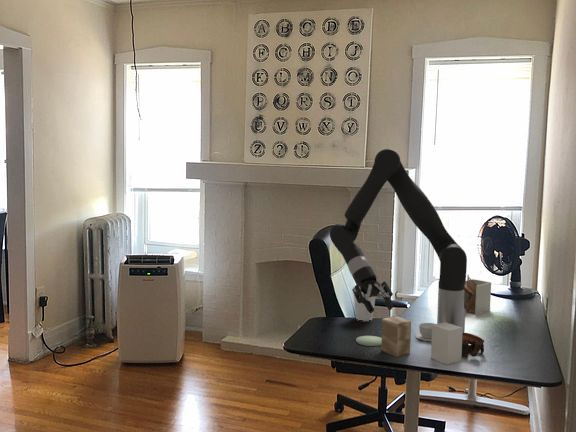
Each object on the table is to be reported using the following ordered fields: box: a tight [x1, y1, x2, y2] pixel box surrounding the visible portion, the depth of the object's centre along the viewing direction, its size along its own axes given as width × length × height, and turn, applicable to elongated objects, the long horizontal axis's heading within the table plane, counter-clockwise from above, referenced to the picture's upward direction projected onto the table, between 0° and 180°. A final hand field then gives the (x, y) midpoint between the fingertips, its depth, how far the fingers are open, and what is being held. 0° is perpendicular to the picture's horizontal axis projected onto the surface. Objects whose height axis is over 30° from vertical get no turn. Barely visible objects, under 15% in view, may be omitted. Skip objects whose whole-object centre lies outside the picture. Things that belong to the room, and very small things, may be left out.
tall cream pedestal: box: [430, 322, 463, 365], centre depth 201 cm, size 6×7×11 cm
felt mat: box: [355, 335, 382, 347], centre depth 220 cm, size 10×10×1 cm
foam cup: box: [352, 285, 377, 322], centre depth 248 cm, size 10×9×13 cm
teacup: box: [414, 322, 436, 342], centre depth 225 cm, size 10×10×5 cm
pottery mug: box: [461, 332, 485, 359], centre depth 206 cm, size 12×10×8 cm
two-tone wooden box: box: [464, 274, 492, 316], centre depth 264 cm, size 9×11×17 cm
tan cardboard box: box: [381, 315, 412, 357], centre depth 208 cm, size 6×7×11 cm
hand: (381, 310), depth 214 cm, fingers open, 8 cm apart
